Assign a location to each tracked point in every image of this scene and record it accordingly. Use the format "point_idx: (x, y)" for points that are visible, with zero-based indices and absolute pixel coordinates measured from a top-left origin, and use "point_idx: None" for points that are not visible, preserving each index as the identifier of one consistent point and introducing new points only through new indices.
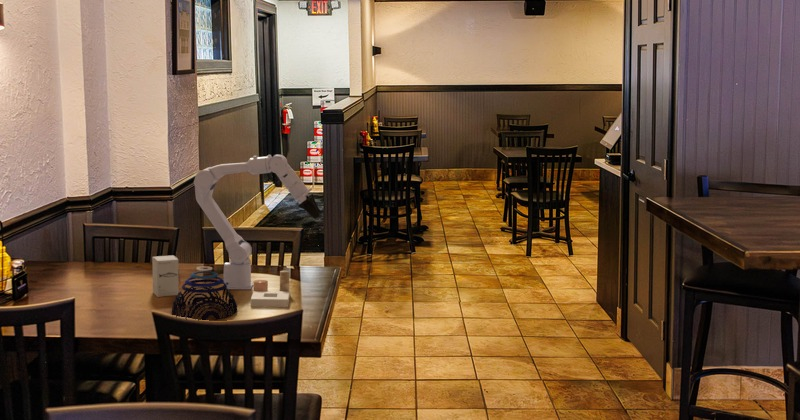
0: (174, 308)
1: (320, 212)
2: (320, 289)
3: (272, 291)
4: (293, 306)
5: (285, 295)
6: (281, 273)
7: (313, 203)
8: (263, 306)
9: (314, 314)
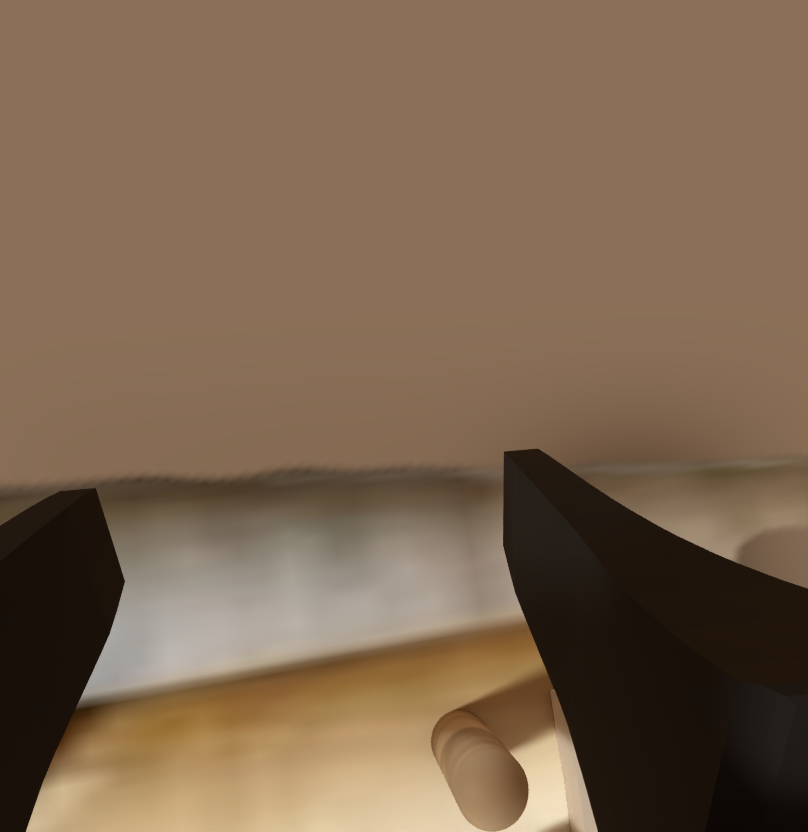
0: None
1: (88, 492)
2: (314, 533)
3: (588, 815)
4: None
5: None
6: (520, 808)
7: (763, 577)
8: None
9: (803, 500)
